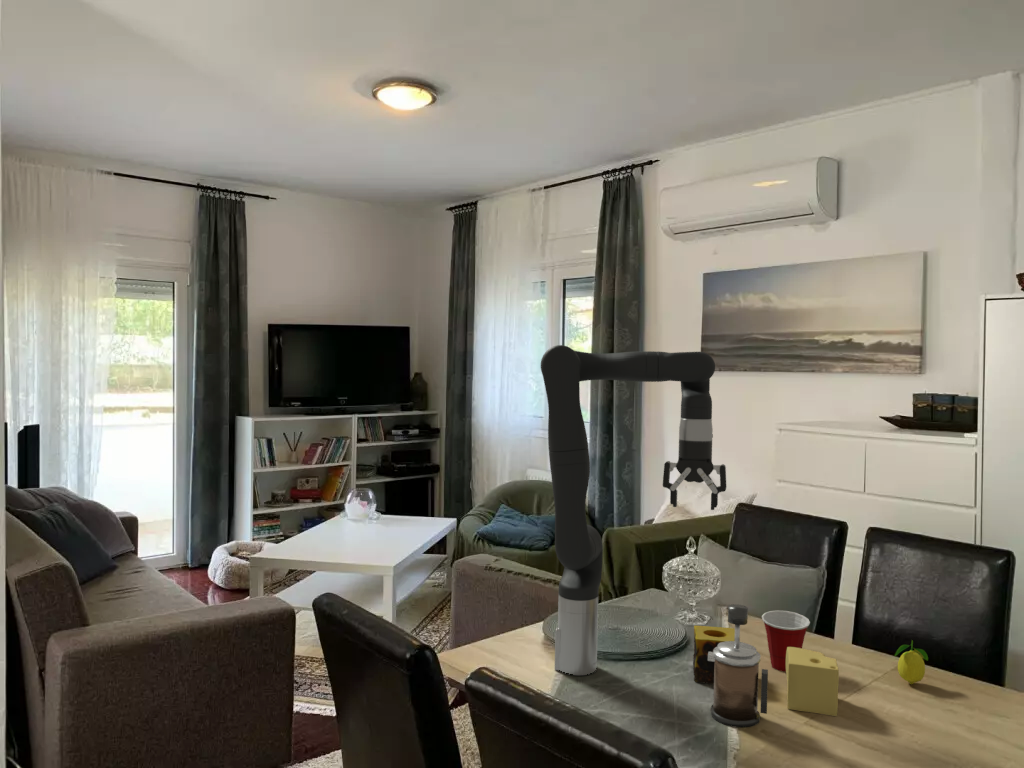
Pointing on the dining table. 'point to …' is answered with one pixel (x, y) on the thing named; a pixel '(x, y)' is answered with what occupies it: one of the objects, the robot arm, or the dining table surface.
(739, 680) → the carafe
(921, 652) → the lemon
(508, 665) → the dining table surface
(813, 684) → the cheese
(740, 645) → the plunger
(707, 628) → the yellow patterned cube
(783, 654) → the plastic cup
